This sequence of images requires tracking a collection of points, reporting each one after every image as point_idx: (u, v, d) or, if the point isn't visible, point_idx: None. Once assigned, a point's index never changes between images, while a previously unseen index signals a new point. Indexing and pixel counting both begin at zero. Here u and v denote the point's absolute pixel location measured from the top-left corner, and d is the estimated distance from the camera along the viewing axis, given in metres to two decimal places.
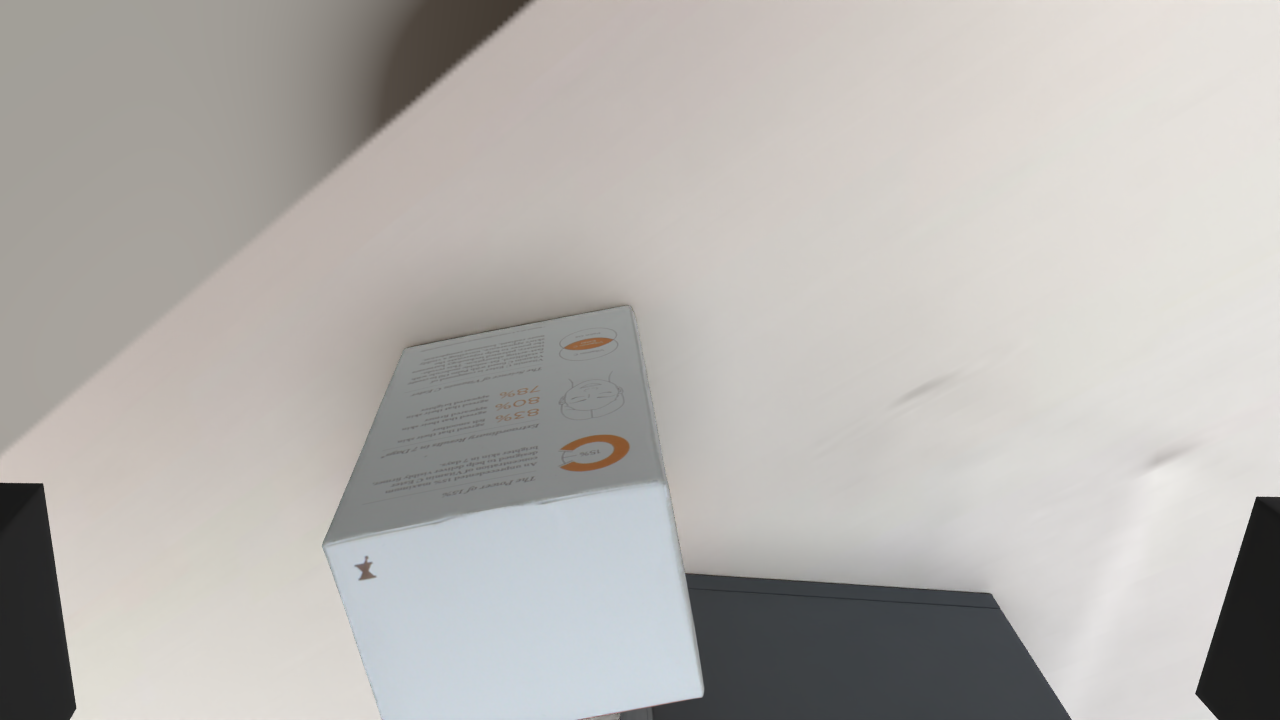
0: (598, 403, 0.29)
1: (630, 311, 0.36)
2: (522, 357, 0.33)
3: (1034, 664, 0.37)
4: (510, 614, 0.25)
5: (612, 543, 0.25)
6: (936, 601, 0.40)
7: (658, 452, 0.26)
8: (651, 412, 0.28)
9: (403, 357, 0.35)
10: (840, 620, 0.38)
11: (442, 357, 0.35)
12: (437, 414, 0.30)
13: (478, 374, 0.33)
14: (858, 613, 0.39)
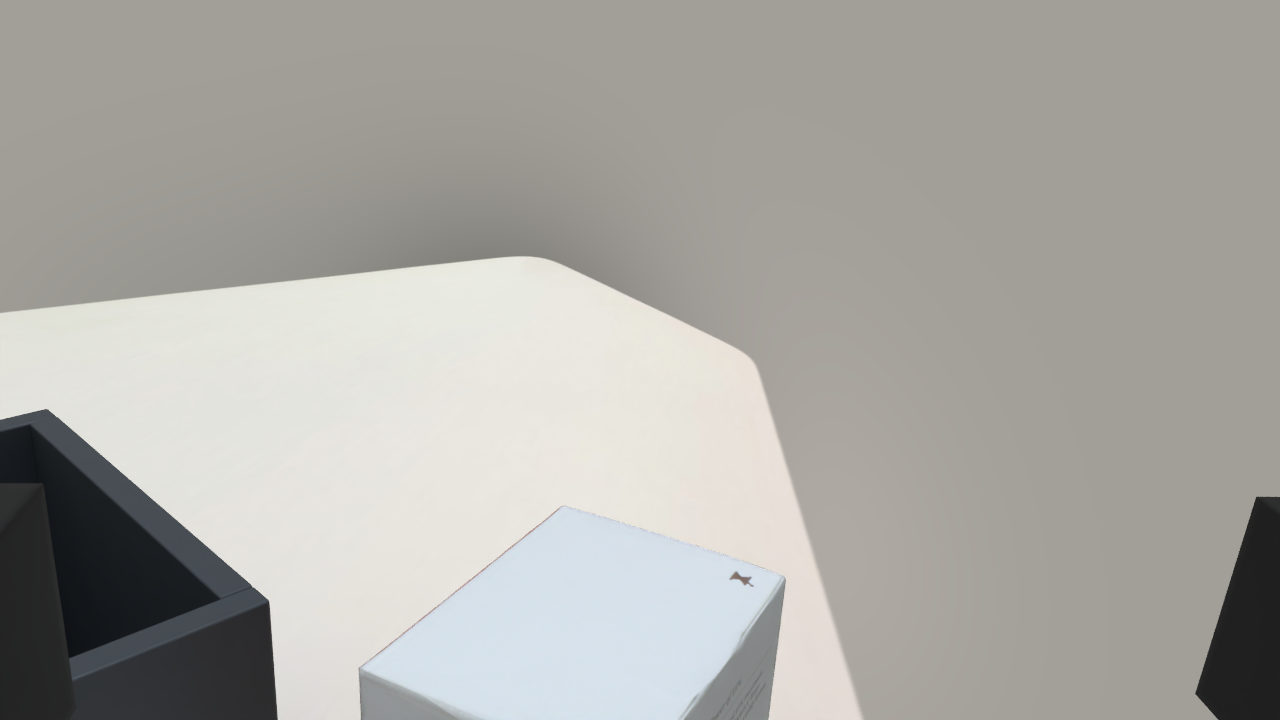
0: None
1: None
2: None
3: None
4: (610, 615, 0.23)
5: (604, 710, 0.20)
6: None
7: None
8: None
9: None
10: None
11: None
12: None
13: None
14: None
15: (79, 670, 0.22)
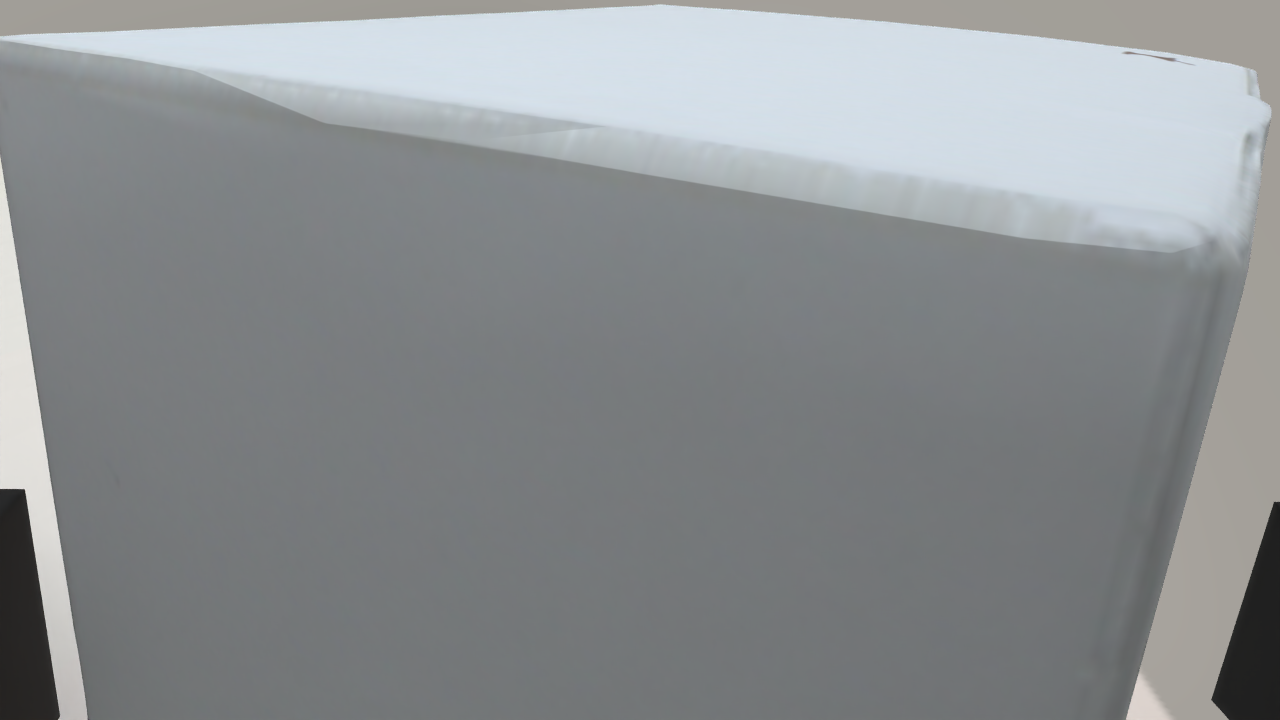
0: None
1: None
2: None
3: None
4: (843, 43, 0.08)
5: (930, 117, 0.05)
6: None
7: (1112, 673, 0.04)
8: None
9: None
10: None
11: None
12: None
13: None
14: None
15: None
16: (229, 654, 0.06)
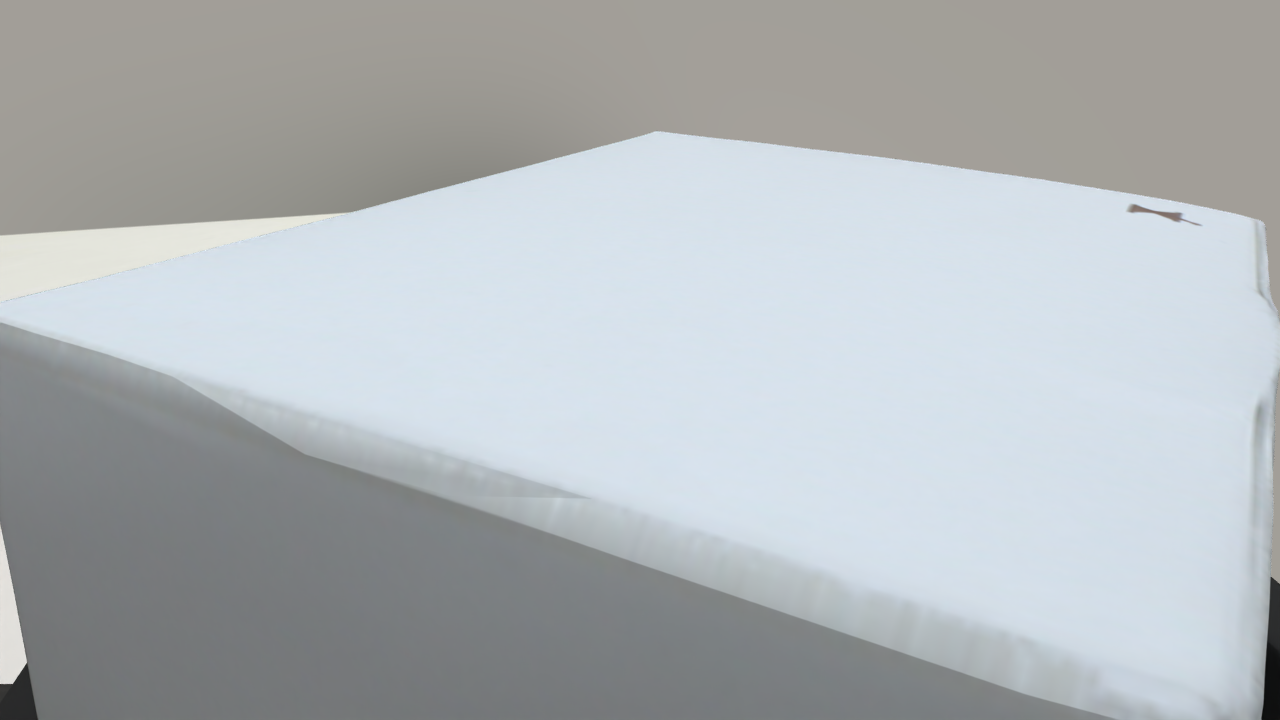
0: None
1: None
2: None
3: None
4: (839, 240, 0.08)
5: (931, 426, 0.05)
6: None
7: None
8: None
9: None
10: None
11: None
12: None
13: None
14: None
15: None
16: None
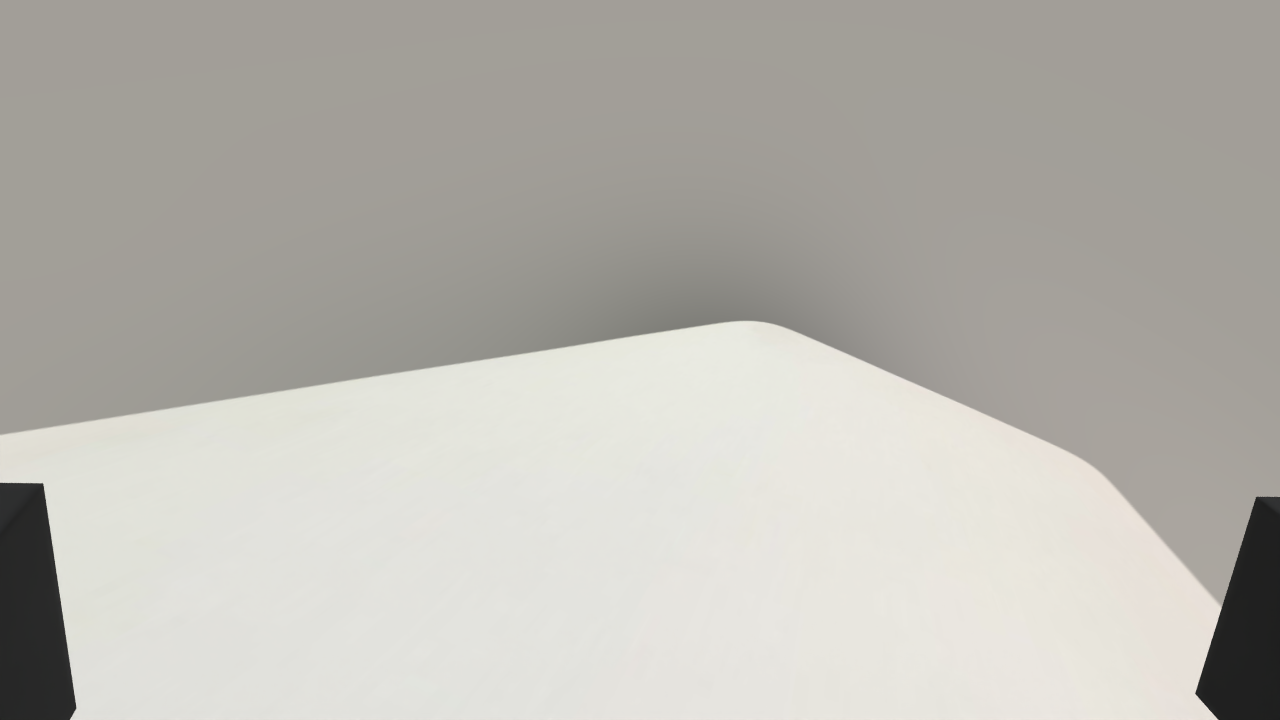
0: None
1: None
2: None
3: None
4: None
5: None
6: None
7: None
8: None
9: None
10: None
11: None
12: None
13: None
14: None
15: None
16: None
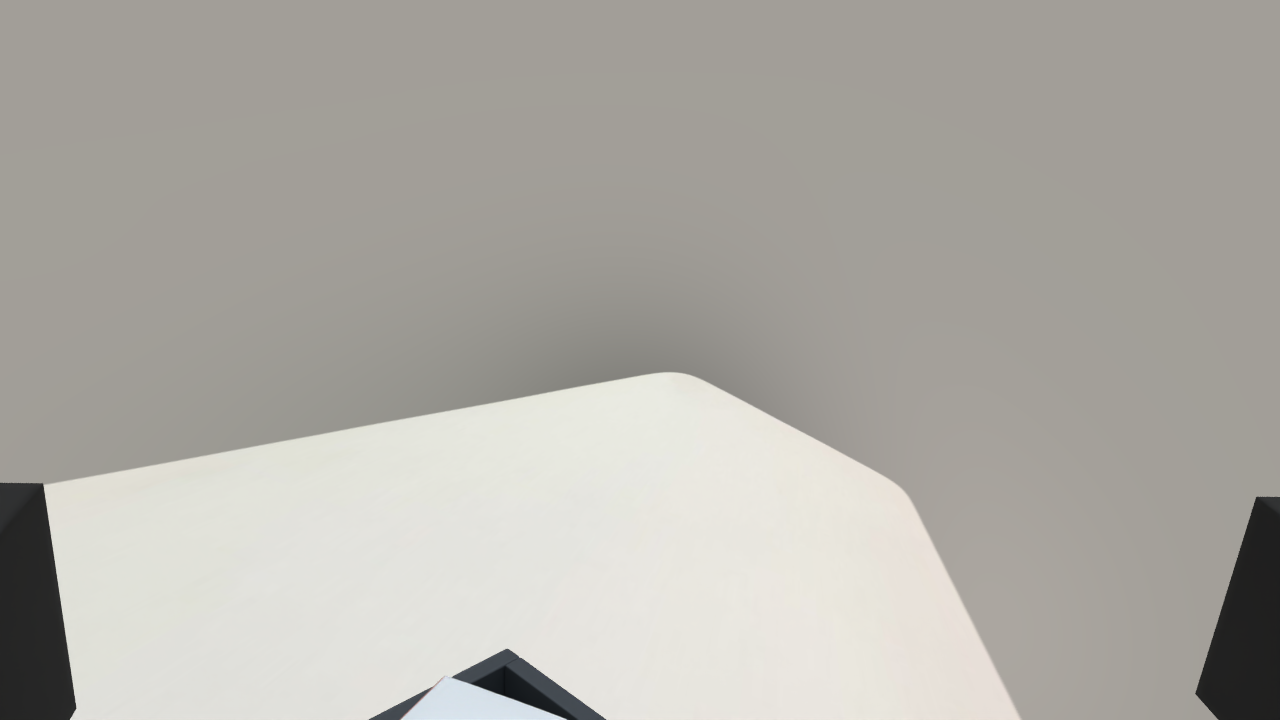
0: None
1: None
2: None
3: None
4: None
5: None
6: None
7: None
8: None
9: None
10: None
11: None
12: None
13: None
14: None
15: None
16: None
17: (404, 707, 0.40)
